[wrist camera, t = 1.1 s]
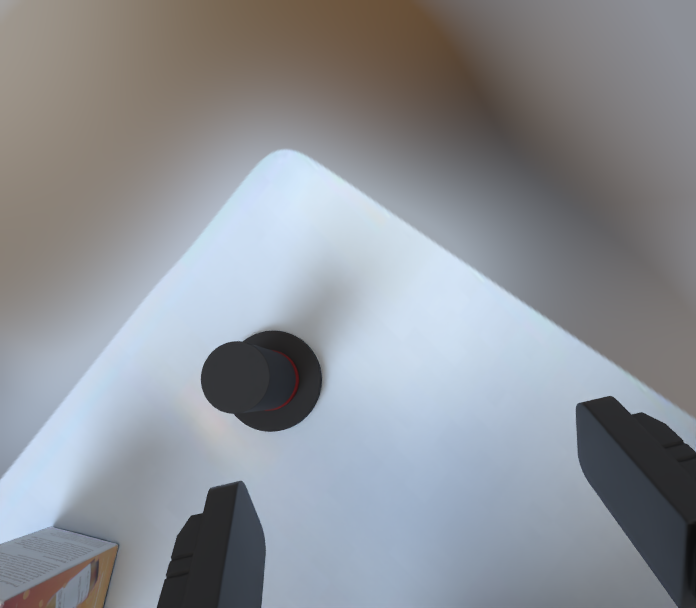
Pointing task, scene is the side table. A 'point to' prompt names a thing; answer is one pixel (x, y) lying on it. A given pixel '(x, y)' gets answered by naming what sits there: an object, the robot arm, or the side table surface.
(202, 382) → the hat
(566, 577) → the side table surface
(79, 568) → the small box
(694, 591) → the robot arm
